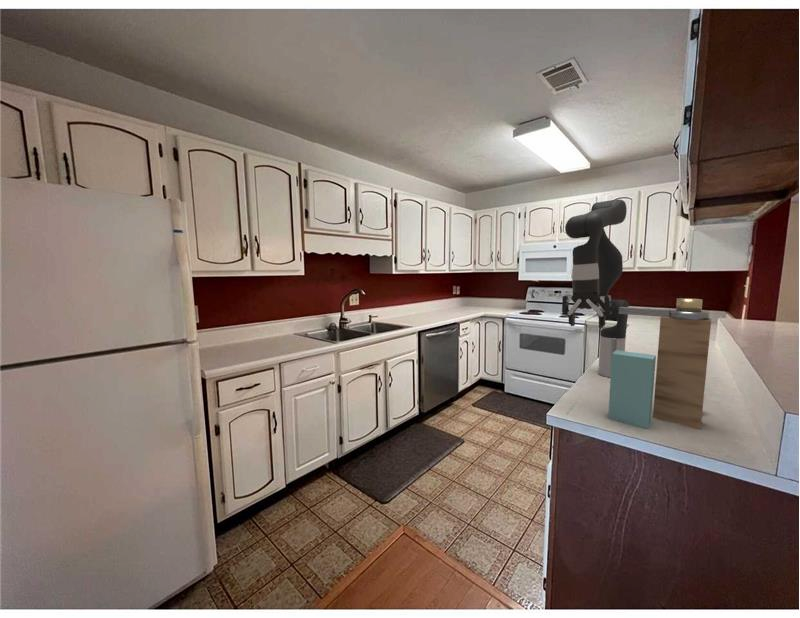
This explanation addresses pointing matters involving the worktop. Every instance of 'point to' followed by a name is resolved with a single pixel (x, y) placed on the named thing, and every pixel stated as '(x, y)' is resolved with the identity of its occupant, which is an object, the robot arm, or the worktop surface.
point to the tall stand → (681, 370)
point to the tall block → (631, 388)
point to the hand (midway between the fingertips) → (586, 326)
